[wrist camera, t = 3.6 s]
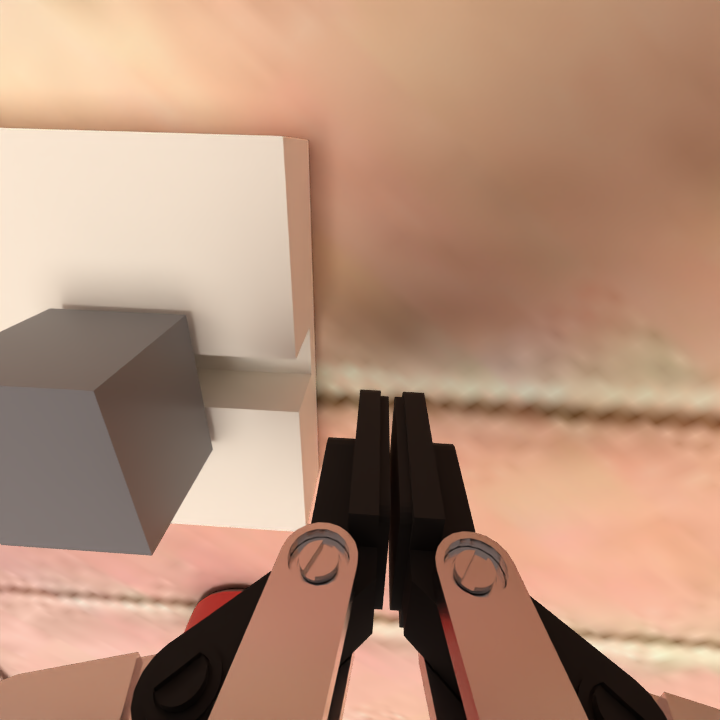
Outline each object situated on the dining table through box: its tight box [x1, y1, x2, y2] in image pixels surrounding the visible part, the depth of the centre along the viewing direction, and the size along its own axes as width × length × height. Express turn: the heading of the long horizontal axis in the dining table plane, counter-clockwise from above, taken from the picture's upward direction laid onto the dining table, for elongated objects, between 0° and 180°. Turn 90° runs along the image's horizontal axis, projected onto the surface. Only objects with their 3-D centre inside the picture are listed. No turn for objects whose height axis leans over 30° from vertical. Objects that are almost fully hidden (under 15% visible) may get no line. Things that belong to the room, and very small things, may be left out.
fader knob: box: [0, 308, 213, 555], centre depth 12 cm, size 4×5×6 cm
